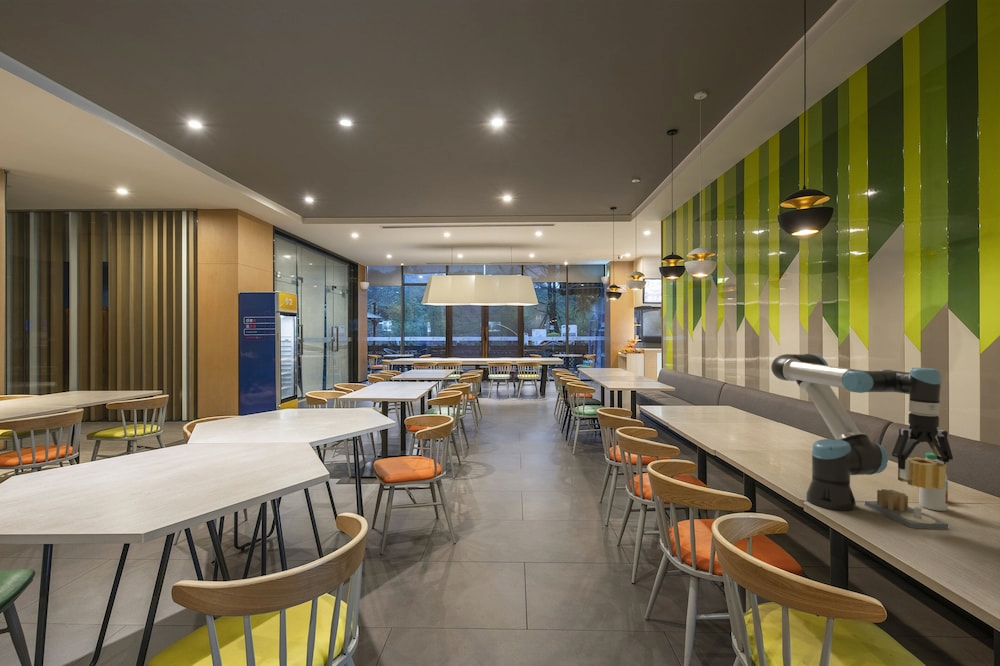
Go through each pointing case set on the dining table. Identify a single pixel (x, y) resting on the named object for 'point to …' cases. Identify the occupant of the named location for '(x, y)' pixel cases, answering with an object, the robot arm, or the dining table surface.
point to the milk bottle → (934, 494)
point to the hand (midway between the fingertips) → (921, 479)
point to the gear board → (903, 510)
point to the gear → (925, 473)
